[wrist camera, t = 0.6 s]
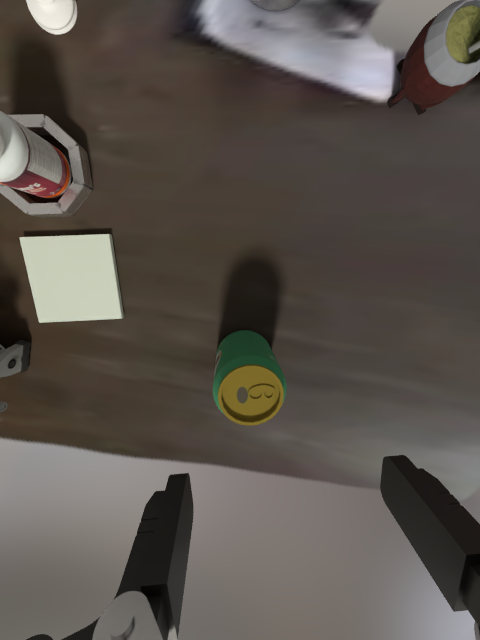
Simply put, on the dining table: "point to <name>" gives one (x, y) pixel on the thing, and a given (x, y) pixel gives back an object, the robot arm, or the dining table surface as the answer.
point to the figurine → (13, 361)
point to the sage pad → (73, 277)
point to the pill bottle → (31, 161)
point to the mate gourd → (441, 57)
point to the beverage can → (247, 379)
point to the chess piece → (54, 14)
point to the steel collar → (78, 166)
